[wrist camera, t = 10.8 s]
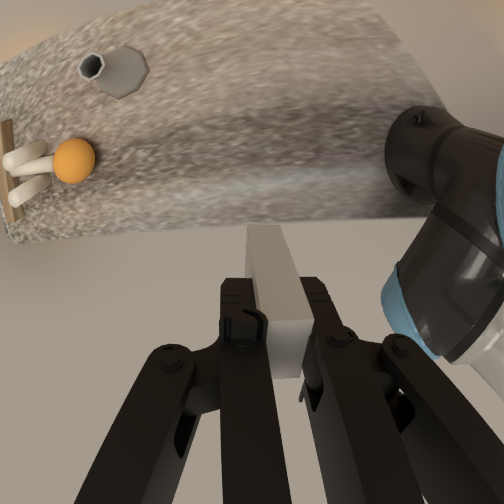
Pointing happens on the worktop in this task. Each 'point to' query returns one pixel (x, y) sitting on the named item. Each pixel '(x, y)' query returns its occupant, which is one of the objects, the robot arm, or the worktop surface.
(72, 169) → the ball
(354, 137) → the worktop surface
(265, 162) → the worktop surface
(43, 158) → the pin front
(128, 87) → the flask
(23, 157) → the pin
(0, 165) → the back wall
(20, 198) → the pin
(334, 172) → the worktop surface
